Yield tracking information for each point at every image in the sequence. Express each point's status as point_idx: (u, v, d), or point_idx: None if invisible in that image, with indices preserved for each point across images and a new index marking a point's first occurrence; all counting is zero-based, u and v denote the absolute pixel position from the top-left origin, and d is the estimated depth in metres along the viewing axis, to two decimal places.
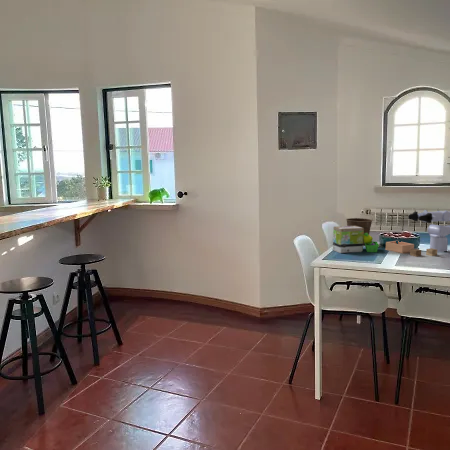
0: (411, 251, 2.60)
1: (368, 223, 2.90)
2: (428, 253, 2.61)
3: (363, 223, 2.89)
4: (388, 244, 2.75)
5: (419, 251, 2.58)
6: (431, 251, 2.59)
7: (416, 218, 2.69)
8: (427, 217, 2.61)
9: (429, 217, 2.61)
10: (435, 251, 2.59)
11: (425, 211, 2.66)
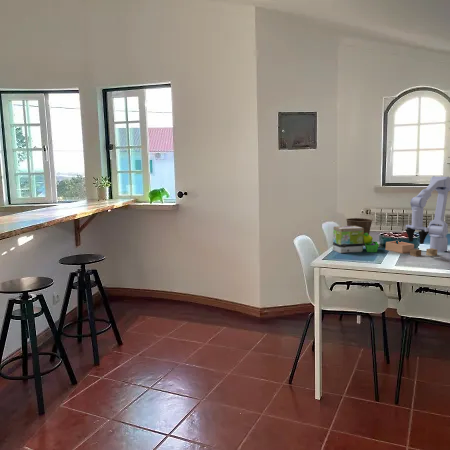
0: (411, 251, 2.60)
1: (368, 223, 2.90)
2: (428, 253, 2.61)
3: (363, 223, 2.89)
4: (388, 244, 2.75)
5: (419, 251, 2.58)
6: (431, 251, 2.59)
7: (413, 231, 2.62)
8: None
9: None
10: (435, 251, 2.59)
11: (412, 228, 2.56)
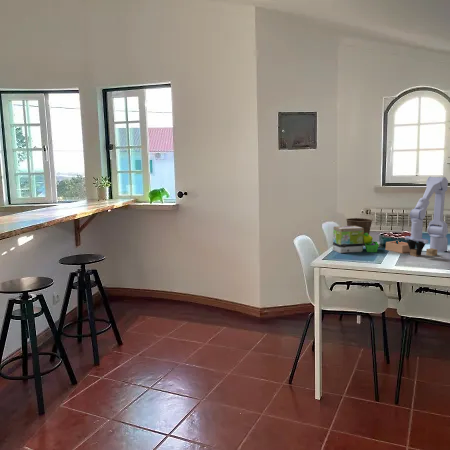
0: (411, 251, 2.60)
1: (368, 223, 2.90)
2: (428, 253, 2.61)
3: (363, 223, 2.89)
4: (388, 244, 2.75)
5: None
6: (431, 251, 2.59)
7: (414, 242, 2.62)
8: None
9: None
10: (435, 251, 2.59)
11: (412, 239, 2.57)
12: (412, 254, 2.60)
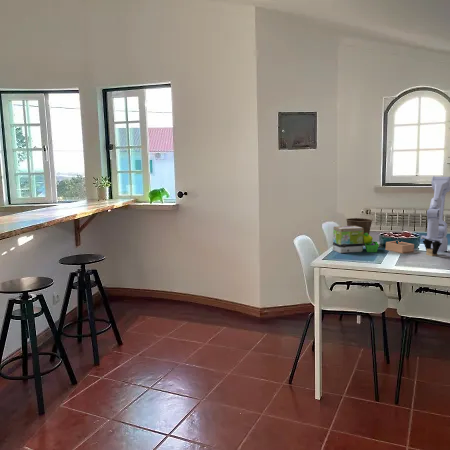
0: None
1: (368, 223, 2.90)
2: (428, 253, 2.61)
3: (363, 223, 2.89)
4: (388, 244, 2.75)
5: None
6: (431, 251, 2.59)
7: (430, 242, 2.63)
8: None
9: None
10: None
11: (428, 239, 2.58)
12: None
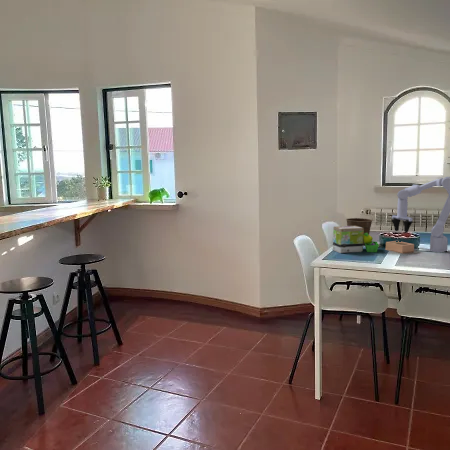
0: None
1: (368, 223, 2.90)
2: None
3: (363, 223, 2.89)
4: (388, 244, 2.75)
5: None
6: None
7: (398, 221, 2.85)
8: None
9: None
10: None
11: (398, 218, 2.79)
12: None
